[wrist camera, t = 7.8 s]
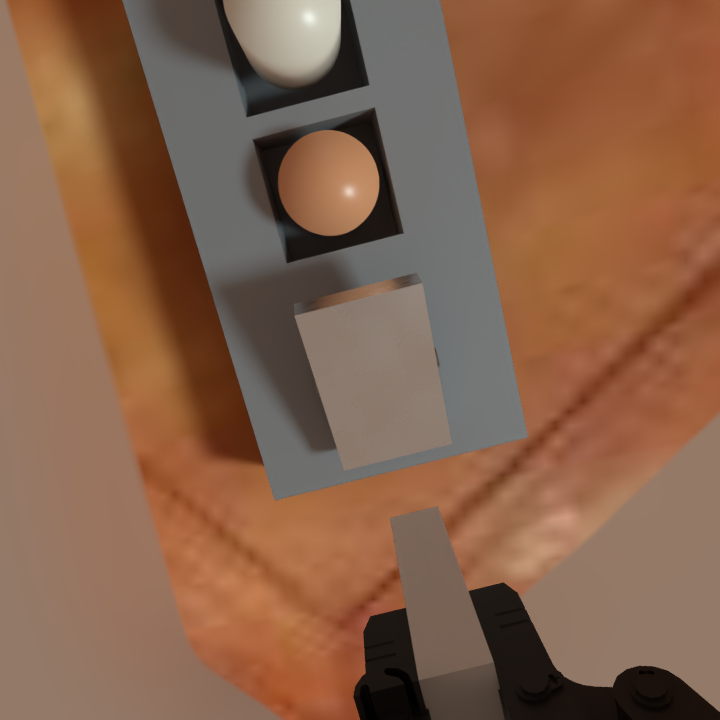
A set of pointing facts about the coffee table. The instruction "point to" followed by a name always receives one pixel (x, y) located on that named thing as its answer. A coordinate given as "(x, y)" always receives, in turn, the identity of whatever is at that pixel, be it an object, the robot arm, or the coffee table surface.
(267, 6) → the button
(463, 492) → the coffee table surface
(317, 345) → the block
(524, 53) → the coffee table surface
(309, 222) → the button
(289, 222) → the grey slotted block
